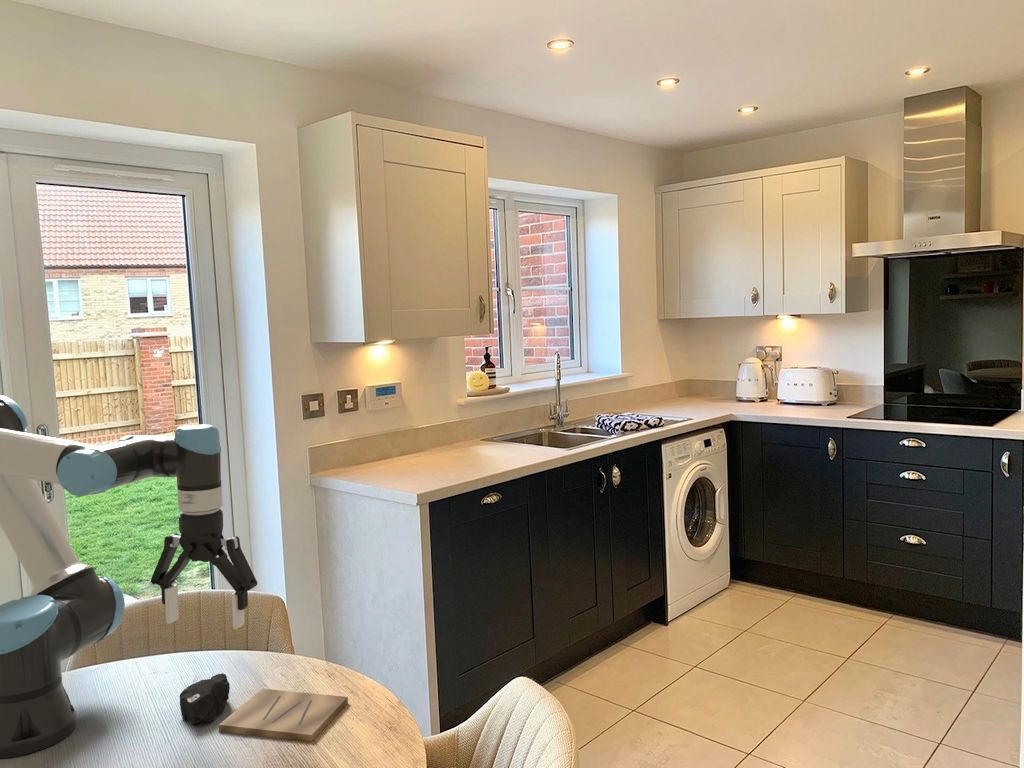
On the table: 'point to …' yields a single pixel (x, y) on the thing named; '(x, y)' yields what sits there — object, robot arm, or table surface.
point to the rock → (204, 699)
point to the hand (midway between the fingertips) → (205, 623)
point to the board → (284, 714)
